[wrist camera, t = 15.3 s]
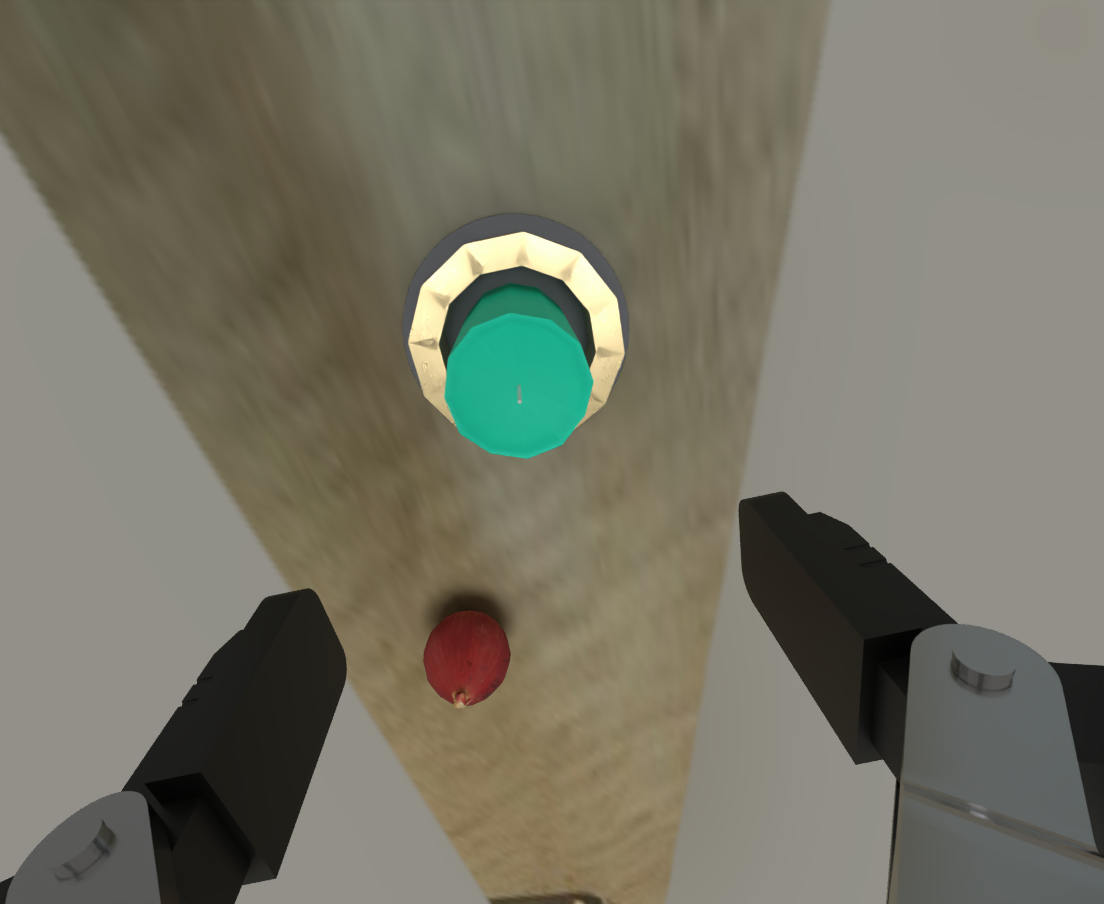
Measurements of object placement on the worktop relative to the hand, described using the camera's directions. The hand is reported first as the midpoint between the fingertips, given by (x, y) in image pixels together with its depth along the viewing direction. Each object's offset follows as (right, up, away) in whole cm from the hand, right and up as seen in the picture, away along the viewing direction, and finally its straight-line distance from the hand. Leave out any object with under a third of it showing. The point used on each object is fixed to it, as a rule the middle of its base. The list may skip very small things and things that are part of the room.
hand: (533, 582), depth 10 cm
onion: (-6, -10, +30) cm, 32 cm away
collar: (-2, +10, +22) cm, 24 cm away
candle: (-2, +9, +21) cm, 23 cm away
